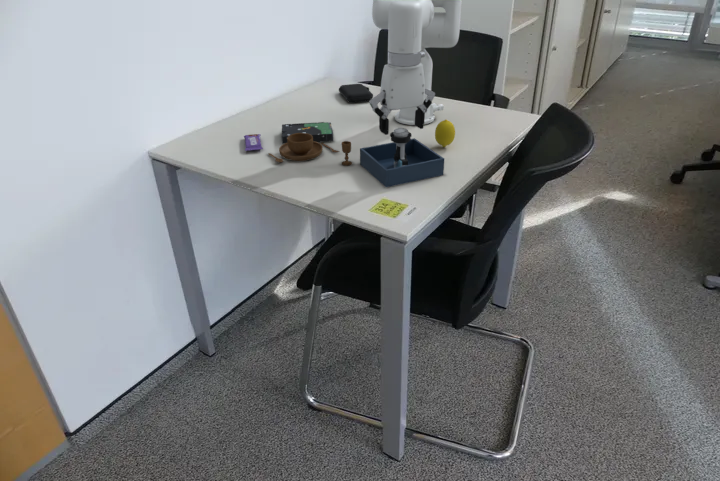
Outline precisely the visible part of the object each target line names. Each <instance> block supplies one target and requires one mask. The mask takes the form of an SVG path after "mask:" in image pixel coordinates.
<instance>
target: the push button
mask: <svg viewBox="0 0 720 481" xmlns="http://www.w3.org/2000/svg"><path fill="white" fill-rule="evenodd" d="M389 133H390V134H389V136H390V141H391V142H394V143H396V154H394V168H396V167H401V166H406V165H408V160H407V159H406V153H405V144H406V143H408V142H409V141H410V139H412V133H411V132H410V131H409V129H407V128H404V127H398V128H394V129H393V131H392V132H389Z"/></svg>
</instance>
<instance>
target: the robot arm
mask: <svg viewBox="0 0 720 481" xmlns="http://www.w3.org/2000/svg"><path fill="white" fill-rule="evenodd" d="M462 5H463V0H372V8H371V10H372V11H371V15H372V17H371V18H372V22H373V24H374V26H376V27H377V29H378V28H379V29H381V30H388V31H387V32H388V34H387V64H384V65H383V69H382V74H381V81H380V89H379V90H380V91H379V93H378V94H376V95H375V96H373V98H372V99H371V100H370V101H368V103H369V105H370V107H371V109H372V111H373V112H374V113H375V114H376V115H377V116H378V118H379V119H378V120H379V121H378V123H379V124H378V128H379V131H380V133H382V134H383V135H385V136H387V135H390V134H389V133H390V132H389V131H390V130H389V129H390V119H389V118H388V116H389V115H390V114H391V112H392V111H397V112H395V114H394V120H395V121H396V122H397V123H400V124H402V125H408V126H414V127H417V128H418V129H420V130H422V129H424V125H428V124H430V123H432V122H434V121H435V118H436V116H435V114H434V113H435V112H439V111H440V112H441V111H443V110H444V108H445V107H444V106H445V105H444V104H443V103H440V104H439V103H438V104H436V102H432V101H433V100H434V98H435V96H436V92H435V91H432V82H433V59H432V57H431V55H430V54H429V52H428V51H427V50H426V49H429V48H433V49H435V48H437V49H451V48H454V47H455V46H456V45H457V44H458V42H459V38H460V30H461V29H460V28H461V19H462V18H461V17H462ZM435 8H443V9H444V11H445V12H441V11H440V12H435ZM379 104H380V106H381V107H380V108H379ZM398 110H399V111H398Z"/></svg>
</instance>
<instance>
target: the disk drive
mask: <svg viewBox="0 0 720 481" xmlns="http://www.w3.org/2000/svg"><path fill="white" fill-rule="evenodd" d="M295 133H307V134H310V135H312V136H313V141H315V142H318V143H329V142H330V143H331V142H334V130H333V126H332V121H331V122H329V121H328V122H327V121H326V122H324V121H319V122H300V123H282V124H281V143H282V144H281V145H283V144H285V143H288V142H287V137H288V136H290V135H292V134H295Z"/></svg>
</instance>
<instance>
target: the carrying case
mask: <svg viewBox="0 0 720 481" xmlns="http://www.w3.org/2000/svg"><path fill="white" fill-rule="evenodd" d="M338 92H339V93H340V94H341V96H343V98H344V99H345V100H346V101H347V102H348V103H351V104H354V103H364V102H369V101H370V100H371V99H372V98H374V93H372V92H371V91H370V88H369V87H368V86H365V85H363V84H362V83H351V84H341V85H340V86H339V88H338Z"/></svg>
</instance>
